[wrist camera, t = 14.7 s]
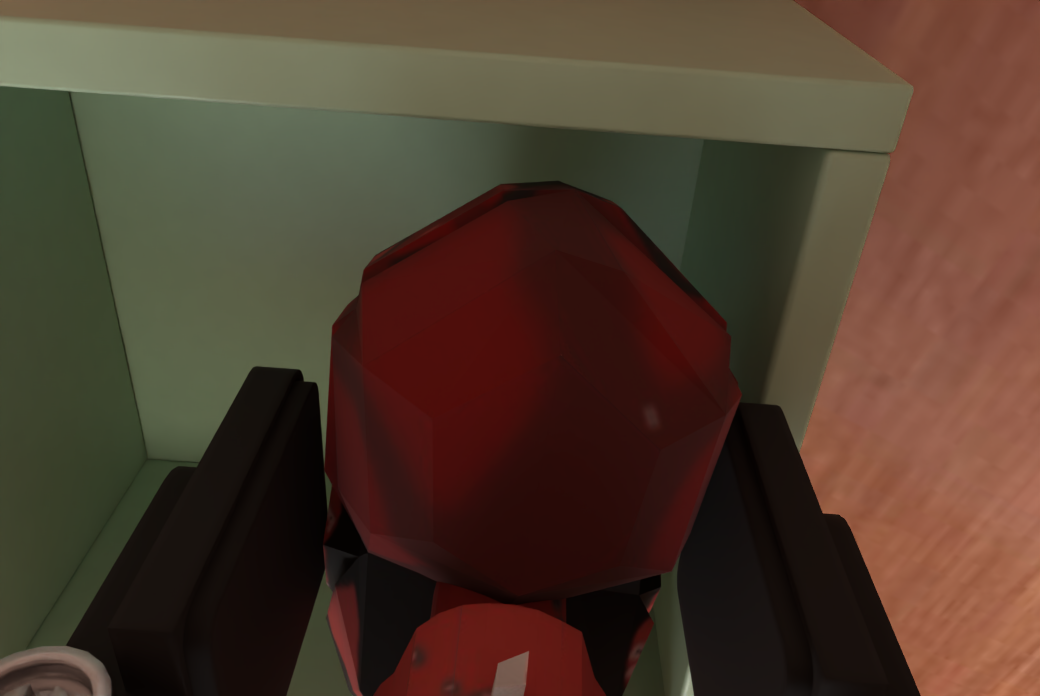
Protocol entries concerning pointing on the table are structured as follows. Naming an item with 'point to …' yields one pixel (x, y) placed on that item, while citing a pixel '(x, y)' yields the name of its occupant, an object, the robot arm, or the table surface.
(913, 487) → the table surface
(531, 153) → the box
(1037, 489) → the table surface
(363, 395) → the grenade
